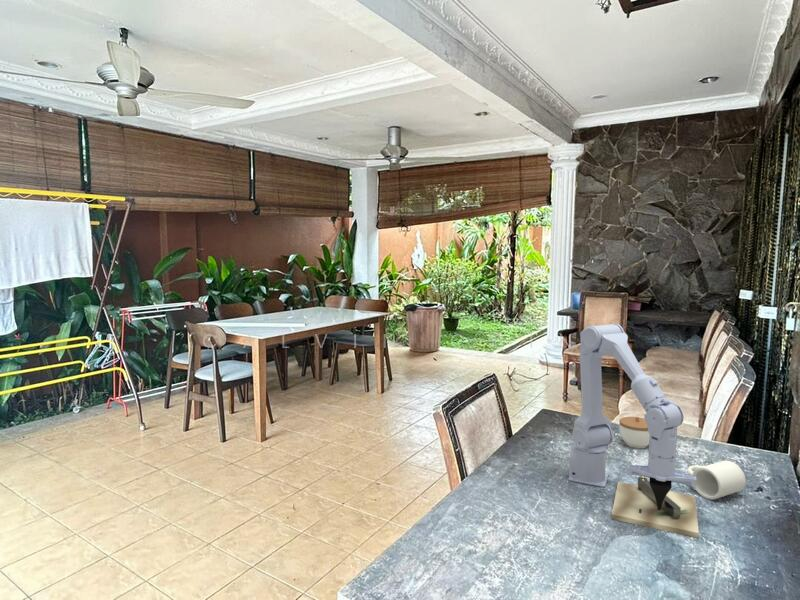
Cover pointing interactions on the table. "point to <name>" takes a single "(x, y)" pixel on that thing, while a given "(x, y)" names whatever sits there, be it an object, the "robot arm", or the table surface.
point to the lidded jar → (634, 431)
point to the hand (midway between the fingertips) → (659, 508)
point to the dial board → (654, 511)
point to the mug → (717, 479)
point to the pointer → (666, 505)
